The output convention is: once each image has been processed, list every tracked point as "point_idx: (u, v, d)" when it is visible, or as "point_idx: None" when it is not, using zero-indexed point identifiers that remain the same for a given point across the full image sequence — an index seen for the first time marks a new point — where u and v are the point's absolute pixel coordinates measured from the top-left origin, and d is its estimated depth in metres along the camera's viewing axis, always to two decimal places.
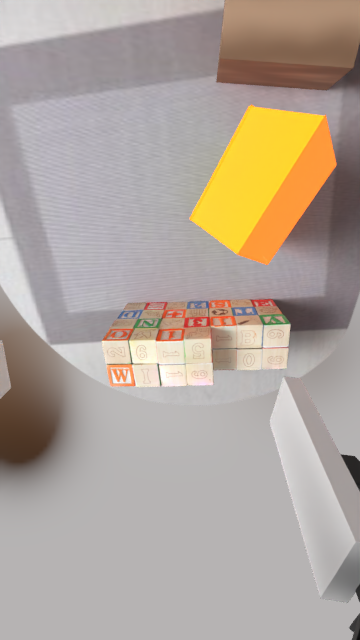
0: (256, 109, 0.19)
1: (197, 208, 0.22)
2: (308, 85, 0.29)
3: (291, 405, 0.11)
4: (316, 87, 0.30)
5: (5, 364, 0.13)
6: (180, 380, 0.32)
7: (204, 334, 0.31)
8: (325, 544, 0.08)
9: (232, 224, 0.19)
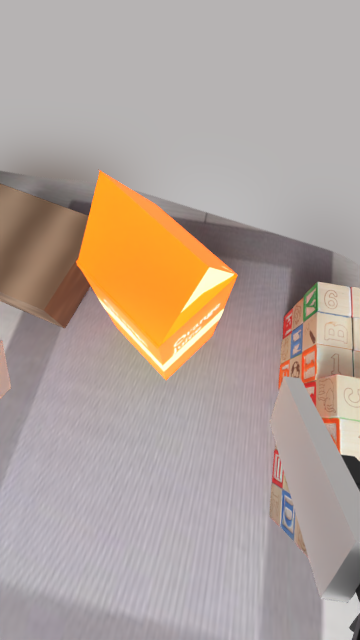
0: (80, 255, 0.19)
1: (149, 334, 0.18)
2: None
3: (291, 405, 0.11)
4: None
5: (5, 364, 0.13)
6: None
7: (329, 385, 0.21)
8: (325, 544, 0.08)
9: (173, 279, 0.15)
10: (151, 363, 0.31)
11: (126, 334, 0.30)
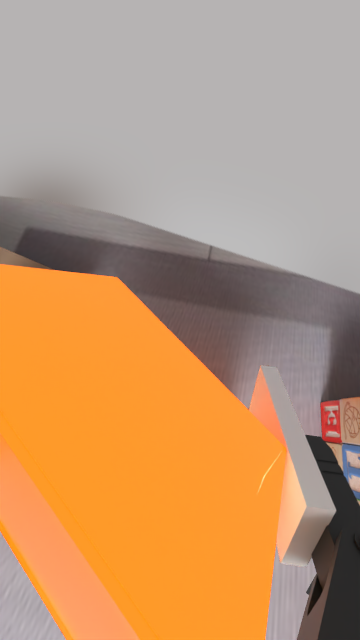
0: None
1: None
2: None
3: (265, 391, 0.12)
4: None
5: None
6: None
7: None
8: (285, 513, 0.08)
9: (113, 633, 0.04)
10: None
11: None
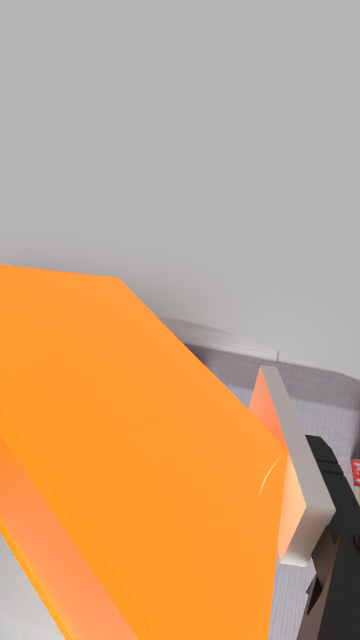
0: None
1: None
2: None
3: (264, 391, 0.12)
4: None
5: None
6: None
7: None
8: (285, 513, 0.08)
9: (113, 637, 0.04)
10: None
11: None
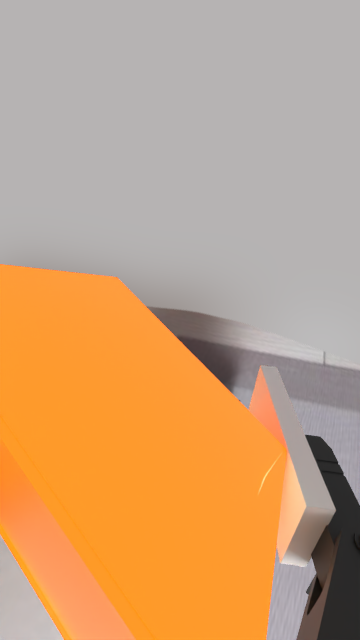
0: None
1: None
2: None
3: (264, 391, 0.12)
4: None
5: None
6: None
7: None
8: (285, 513, 0.08)
9: (112, 637, 0.04)
10: None
11: None
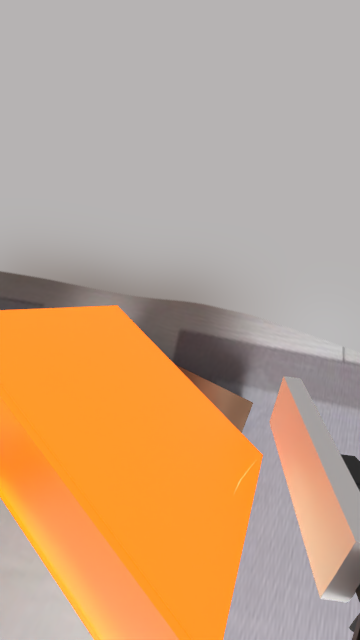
0: None
1: (85, 617, 0.09)
2: None
3: (291, 406, 0.11)
4: None
5: None
6: None
7: None
8: (325, 544, 0.08)
9: (122, 599, 0.06)
10: None
11: None
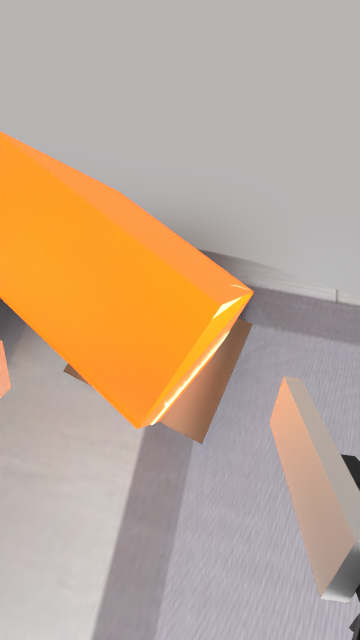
0: (0, 281, 0.12)
1: (121, 407, 0.11)
2: None
3: (291, 405, 0.11)
4: None
5: (5, 364, 0.13)
6: None
7: None
8: (325, 544, 0.08)
9: (151, 324, 0.08)
10: None
11: None
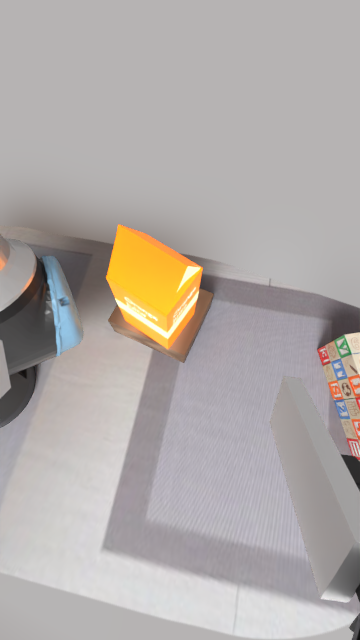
0: (108, 272, 0.32)
1: (159, 310, 0.31)
2: (205, 315, 0.52)
3: (290, 406, 0.11)
4: (207, 311, 0.53)
5: (5, 364, 0.13)
6: None
7: None
8: (325, 544, 0.08)
9: (169, 275, 0.29)
10: (156, 339, 0.44)
11: (135, 322, 0.43)
